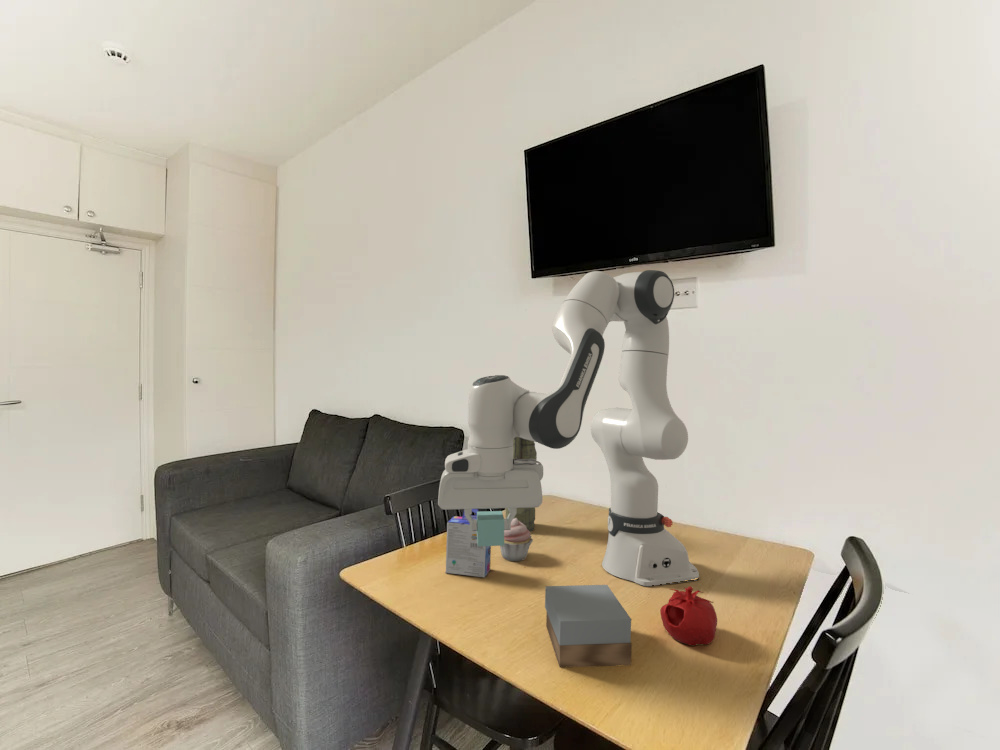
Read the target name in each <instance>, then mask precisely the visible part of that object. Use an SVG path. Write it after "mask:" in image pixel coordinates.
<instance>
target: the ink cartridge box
mask: <svg viewBox="0 0 1000 750" xmlns="http://www.w3.org/2000/svg"><path fill="white" fill-rule="evenodd" d="M477 512H480V511H479V509H472V513H474V515H473V514H470V515H471V516H472V518H473V520H477ZM491 549H492V546H478V543H477V531H470V523H469V521H468V519H467V518H466V516H465V514H464V512H463V513H462V516H457V515H455V516H454V515H453V516H452V517H451V519H449V520H448V521H447V523H446V549H445V550H446V552H445V553H446V554H445V574H452V575H460V576H469V577H470V576H471V577H478V578H486V577H487V575H488V574H489V572H490V570H491Z"/></svg>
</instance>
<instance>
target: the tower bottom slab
mask: <svg viewBox="0 0 1000 750" xmlns="http://www.w3.org/2000/svg"><path fill="white" fill-rule="evenodd" d="M545 616H546V619H545V620H546V622H545V626H546V629H547V633H548V636H549V639H550V642H551V645H552V648H553V652H554V654H555V656H556V660H557V664H558V667H559V668H577V667H578V668H581V667H583V668H585V667H586V668H587V667H588V668H589V667H615V666H616V665H617V666H616V667H619V666H618V665H624V666H631V665H632V646H633V644H632V642H630V643H613V644H587V645H561V646H560V645H559V643H558V640H557V637H556V635H555V632H554V630H553V627H552V624H551V622H550V619H549V616H548V614H547V613H546V615H545Z"/></svg>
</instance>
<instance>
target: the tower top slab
mask: <svg viewBox="0 0 1000 750" xmlns="http://www.w3.org/2000/svg"><path fill="white" fill-rule="evenodd" d="M544 591H545V593H544V595H545V596H544V597H545V598H544V608H545V611H546V615H547V614H548V616H549V619H550V622H551V624H552V627H553V630H554V632H555V635H556V637H557V640H558V643H559V645H560V646H561V645H587V644H613V643H630V642H631V641H632V638H631V637H632V636H631V634H632V618H631V617H630V615H629V614H628V613H627V611H626V609H625V608H624V607H623V605H622V604H621V602H620V601H619V600H618V598H617V596H616V595H615V593H614V592H613V591H612V590H611V588H610V587H609V584H586V585H585V584H584V585H582V584H581V585H547V586H546V585H545V590H544ZM631 643H632V642H631Z"/></svg>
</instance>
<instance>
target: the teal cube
mask: <svg viewBox="0 0 1000 750" xmlns="http://www.w3.org/2000/svg"><path fill="white" fill-rule="evenodd" d="M504 519H505V517H504V515H503V511H502V510H494V511H491V510H490V511H486V510H485V511H484V510H483V511H481V510H480V511H478V512H477V522H478V526H477V528H478V531H477V543H478V546H491V547H496V546H497V547H499V546H504Z"/></svg>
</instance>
